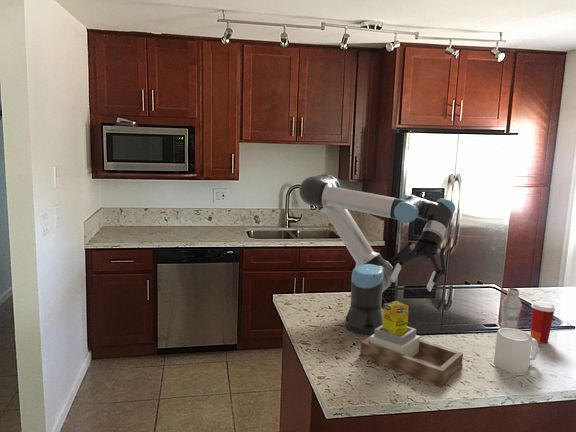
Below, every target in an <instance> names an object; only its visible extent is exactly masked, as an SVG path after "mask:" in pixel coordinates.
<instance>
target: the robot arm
mask: <svg viewBox="0 0 576 432" xmlns="http://www.w3.org/2000/svg"><path fill="white" fill-rule="evenodd" d="M298 192H299V193H298V194H299V196H300V199H301V200H302V202H304V203H305V204H307V205H308V206H311V207H313V206H314V207H317V209H318V211H319V212H320V213H324V214H325V215H326V217H327V219H328V220H329V221H330V223H331V225H332V226H333V228H334V230H335V232H336V233H337V234H338V236H339V237H340V239H341V241H342V242H343V243H344V246H345V247H346V249H347V250H348V252H349V253H350V255H351V257H352V258H353V260H354V262H355V266H354V268H353V270H352V272H351V286H350V287H351V289H350V304H349V305H350V306H349V309H348V311H347V314H346V316H345V320H344V326H345V328H346V329H347V330H349V331H350V332H352V333H355V334H358V335H359V334H360V335H368V336H369V335H370V336H371V335H373V334H374V331H375V329H376V328H378V327H379V326H381V325H383V311H382V299H383V292H385V291H386V289H388V288H389V287H390V286H391V285H392V283H395V282H396V280H397V278H398V276H399V274H400V272H401V269H402V265H405V264H406V263H408V262H410V261H411V260H413V259H417V258H418V257H419V258H420V259H425V260H428V259H430V261H431V262H432V266H433V267H434V269H435V270H433V271H432V274H431V276H430V278H429V280H428V283H427V285H426V289H427V291H428V292H431V291H432V289H433V287H434V285H435V284H437V283H438V282H439V279H440V277H441V276H443V275H444V276H447V275H448V270H447V263H446V254H447V252H446V250H445V248H444V247H441V248H440V246H441V243H442V242H443V239H444V237H445V234H446V232H447V230H448V227H449V225H450V223H451V222H452V219H453V216H454V214H455V211H456V205H455V204H454V202H453V201H452V200H450V199H448V198H443V197H442V198H438V199H437V200H436V201H431V200H427V199H426V198H423V197H422V198H421V197H420V196H416V195H414V194H410V193H404V194H403V196H402V197H401V198H398V197H391V196H388V195H387V196H386V195H381V194H375V193H371V192H365V191H360V190H359V191H358V190H353V189H348V188H344V187H341V184H340V182H339V180H338V179H337V178H336V177H334V176H333V175H330V174H319V175H315V176H314V175H313V176H308V177H306V178H305V179H304V180H302V182H301V183H300V185H299V190H298ZM350 211H354V212H359V213H364V214H369V215H375V216H378V217H384V218H389V219H394V220H397V221H398V222H399V223H403V224H407V223H412V222H413V221H415V220H416V219H417V218H418V219H421V220H424V221H426V224H425V226H424V227H423V230H422V232H421V234H420V236H419V238H418V240H417V243H416V244H415V243H412V241H407V244H406V246H405V247H403V248H402V249H401V250H400V251H399V252H397V253H396V254H395V255H393V257H391V261H392V263H393V264H394V265H392V264H391V263H390V262H389V261H388V260H385V259H384V258H383V256H382V255H381V253H380V252H376V251H374V249H373V248H372V246H371V245H370V243H369V241H368V240H367V238H366V237H365V234H364V233H363V232H362V230H361V228H360V227H359V225H358V224H357V222H356V220H354V218H353V216H352V214H351V213H350ZM437 254H438V255H439V258H440V259H439V260H440V266H441V269H440V268H439V266H438V263H437V261H436V259H435V257H434V256H435V255H437Z"/></svg>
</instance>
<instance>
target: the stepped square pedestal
mask: <svg viewBox="0 0 576 432" xmlns="http://www.w3.org/2000/svg"><path fill="white" fill-rule="evenodd" d="M369 337H370V343H372V344H375V345H378V346H380V347H383V348H386V349H389V350H392V351H394V352H397V353H400V354H403V355H406V356H409V357H411V358H412V357H413V356H414V355H416V354H417V353H419V342H420V339H421V337H420V335H417V329H416V328H414V327H410V326H408V325H407V333H405V334H404V335H402V336H398V335H395V334H392V333H389V332H386V331H383V330H382V325H381V326H379V327H378V328H376V329H375V331H374V334H370V336H369Z"/></svg>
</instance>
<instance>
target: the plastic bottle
mask: <svg viewBox="0 0 576 432" xmlns="http://www.w3.org/2000/svg"><path fill="white" fill-rule="evenodd" d="M506 294H507V295H506V296H505V297H504V298H503V299H502V300H501V323H500V328H499V329H502V328H511V329H517V330H519V320H520V319H519V318H520V314H521V311H522V307H523V304H522V303H523V302H521V299H520V297H519V296H520V289H518V288H515V287H508V288H507V292H506Z"/></svg>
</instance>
